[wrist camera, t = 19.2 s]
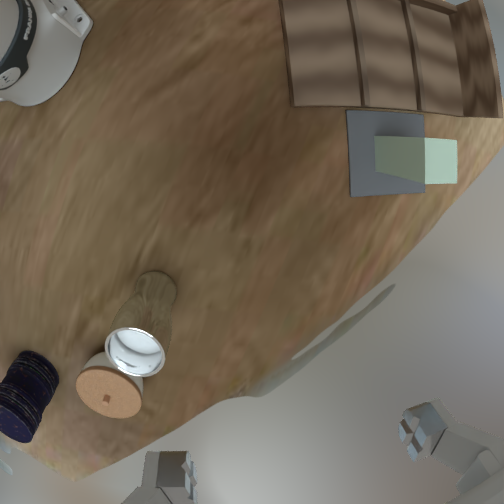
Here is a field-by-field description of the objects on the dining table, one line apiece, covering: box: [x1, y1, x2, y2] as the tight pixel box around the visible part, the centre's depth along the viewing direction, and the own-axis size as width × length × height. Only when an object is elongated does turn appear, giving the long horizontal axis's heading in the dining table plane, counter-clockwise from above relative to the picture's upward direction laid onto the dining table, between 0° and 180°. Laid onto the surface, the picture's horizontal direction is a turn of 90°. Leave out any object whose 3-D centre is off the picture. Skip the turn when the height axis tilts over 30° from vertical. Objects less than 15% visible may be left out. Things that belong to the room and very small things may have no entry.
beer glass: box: [105, 271, 177, 377], centre depth 37 cm, size 7×7×15 cm
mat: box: [345, 110, 425, 197], centre depth 41 cm, size 12×13×1 cm
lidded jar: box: [76, 352, 143, 418], centre depth 43 cm, size 11×11×9 cm
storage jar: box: [0, 351, 59, 443], centre depth 40 cm, size 10×10×15 cm
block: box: [374, 136, 457, 184], centre depth 35 cm, size 5×5×12 cm
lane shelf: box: [279, 0, 503, 118], centre depth 31 cm, size 19×29×10 cm, turn 95°
